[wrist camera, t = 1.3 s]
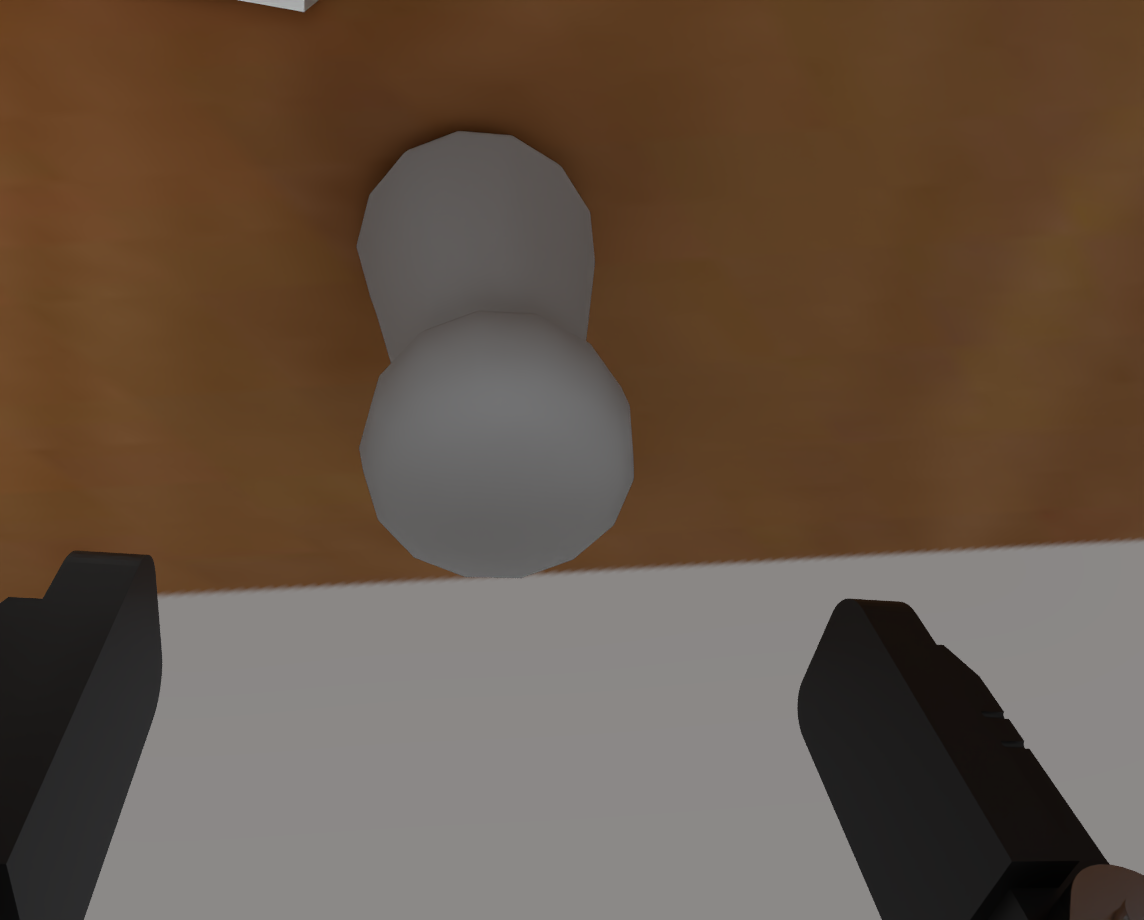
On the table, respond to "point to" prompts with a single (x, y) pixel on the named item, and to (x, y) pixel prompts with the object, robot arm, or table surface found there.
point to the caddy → (286, 4)
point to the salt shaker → (488, 362)
